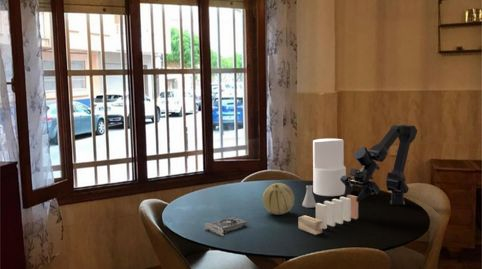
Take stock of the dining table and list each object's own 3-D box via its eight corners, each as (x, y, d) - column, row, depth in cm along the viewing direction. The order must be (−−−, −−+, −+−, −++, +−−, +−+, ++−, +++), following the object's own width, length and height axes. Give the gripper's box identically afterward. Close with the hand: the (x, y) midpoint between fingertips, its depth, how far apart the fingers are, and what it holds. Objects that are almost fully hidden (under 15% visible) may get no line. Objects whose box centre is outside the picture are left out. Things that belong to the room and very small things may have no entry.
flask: (305, 208, 232) (305, 188, 231) (299, 204, 239) (299, 185, 238) (319, 207, 234) (319, 187, 232) (313, 203, 241) (313, 183, 239)
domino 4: (342, 218, 216) (342, 196, 215) (350, 220, 212) (350, 198, 211) (339, 218, 215) (339, 197, 214) (348, 221, 211) (348, 199, 210)
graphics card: (221, 229, 196) (204, 222, 206) (221, 238, 197) (204, 230, 206) (252, 221, 207) (235, 214, 216) (252, 229, 207) (235, 222, 217)
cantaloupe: (292, 208, 233) (291, 178, 230) (296, 218, 218) (296, 186, 216) (261, 209, 232) (260, 179, 230) (264, 219, 218) (263, 187, 215)
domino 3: (334, 220, 213) (334, 198, 212) (343, 223, 209) (343, 200, 208) (331, 221, 212) (331, 199, 211) (340, 224, 208) (340, 201, 207)
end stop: (305, 226, 206) (305, 215, 206) (322, 232, 198) (322, 220, 198) (298, 228, 204) (298, 217, 203) (315, 234, 196) (315, 222, 195)
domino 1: (318, 225, 208) (318, 202, 206) (326, 228, 204) (326, 205, 202) (315, 226, 207) (315, 203, 205) (324, 229, 203) (324, 206, 201)
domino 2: (326, 222, 210) (326, 200, 209) (335, 225, 206) (335, 203, 205) (324, 223, 210) (323, 201, 208) (332, 226, 206) (332, 203, 204)
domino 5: (349, 215, 219) (349, 194, 218) (358, 218, 215) (358, 196, 214) (347, 216, 218) (347, 195, 217) (355, 219, 214) (355, 197, 213)
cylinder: (308, 189, 267) (307, 139, 263) (335, 186, 272) (335, 137, 268) (322, 197, 251) (322, 144, 247) (351, 194, 256) (351, 142, 252)
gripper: (342, 158, 223) (326, 185, 218) (375, 164, 208) (358, 193, 203) (354, 172, 229) (338, 199, 224) (386, 179, 214) (370, 207, 209)
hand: (350, 199), depth 215 cm, fingers open, 7 cm apart
